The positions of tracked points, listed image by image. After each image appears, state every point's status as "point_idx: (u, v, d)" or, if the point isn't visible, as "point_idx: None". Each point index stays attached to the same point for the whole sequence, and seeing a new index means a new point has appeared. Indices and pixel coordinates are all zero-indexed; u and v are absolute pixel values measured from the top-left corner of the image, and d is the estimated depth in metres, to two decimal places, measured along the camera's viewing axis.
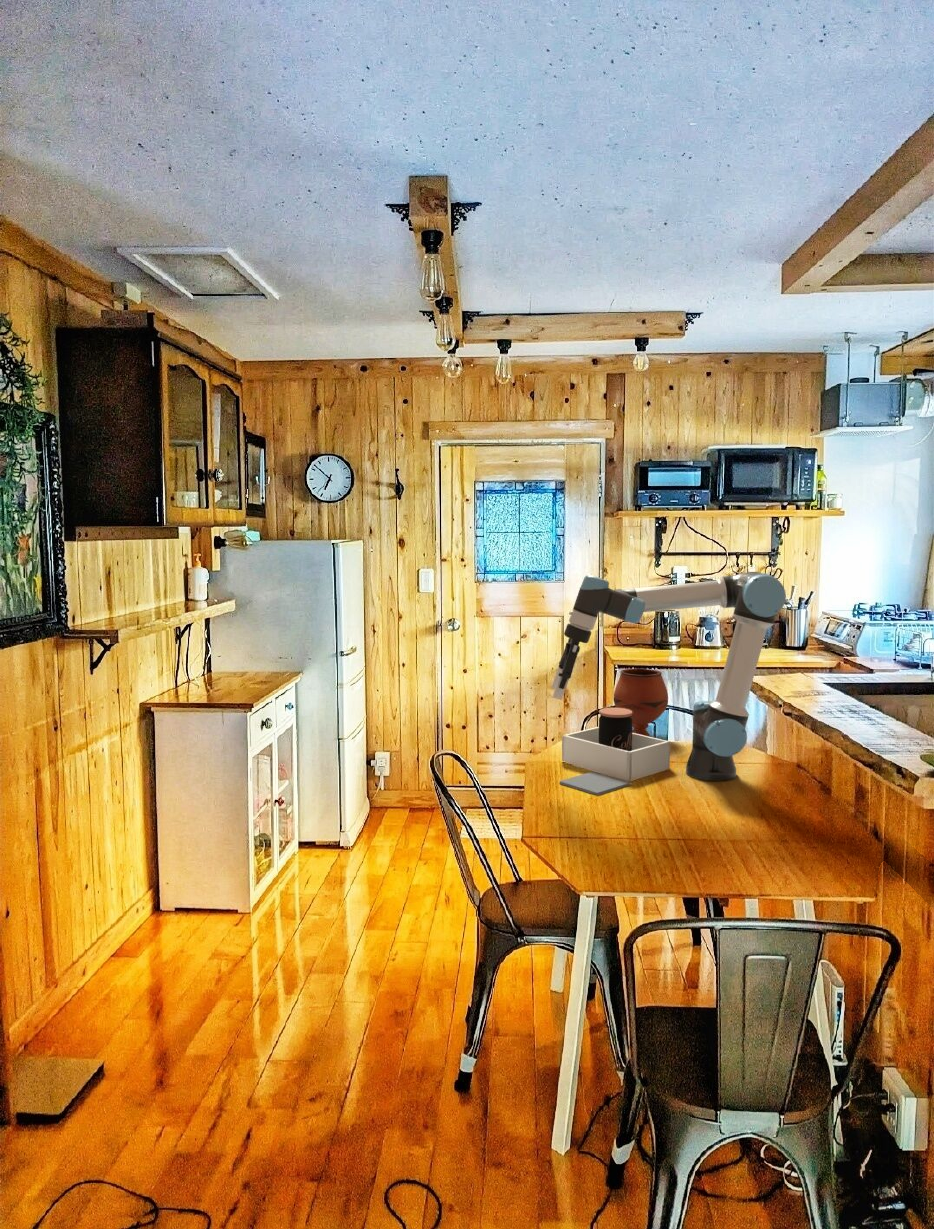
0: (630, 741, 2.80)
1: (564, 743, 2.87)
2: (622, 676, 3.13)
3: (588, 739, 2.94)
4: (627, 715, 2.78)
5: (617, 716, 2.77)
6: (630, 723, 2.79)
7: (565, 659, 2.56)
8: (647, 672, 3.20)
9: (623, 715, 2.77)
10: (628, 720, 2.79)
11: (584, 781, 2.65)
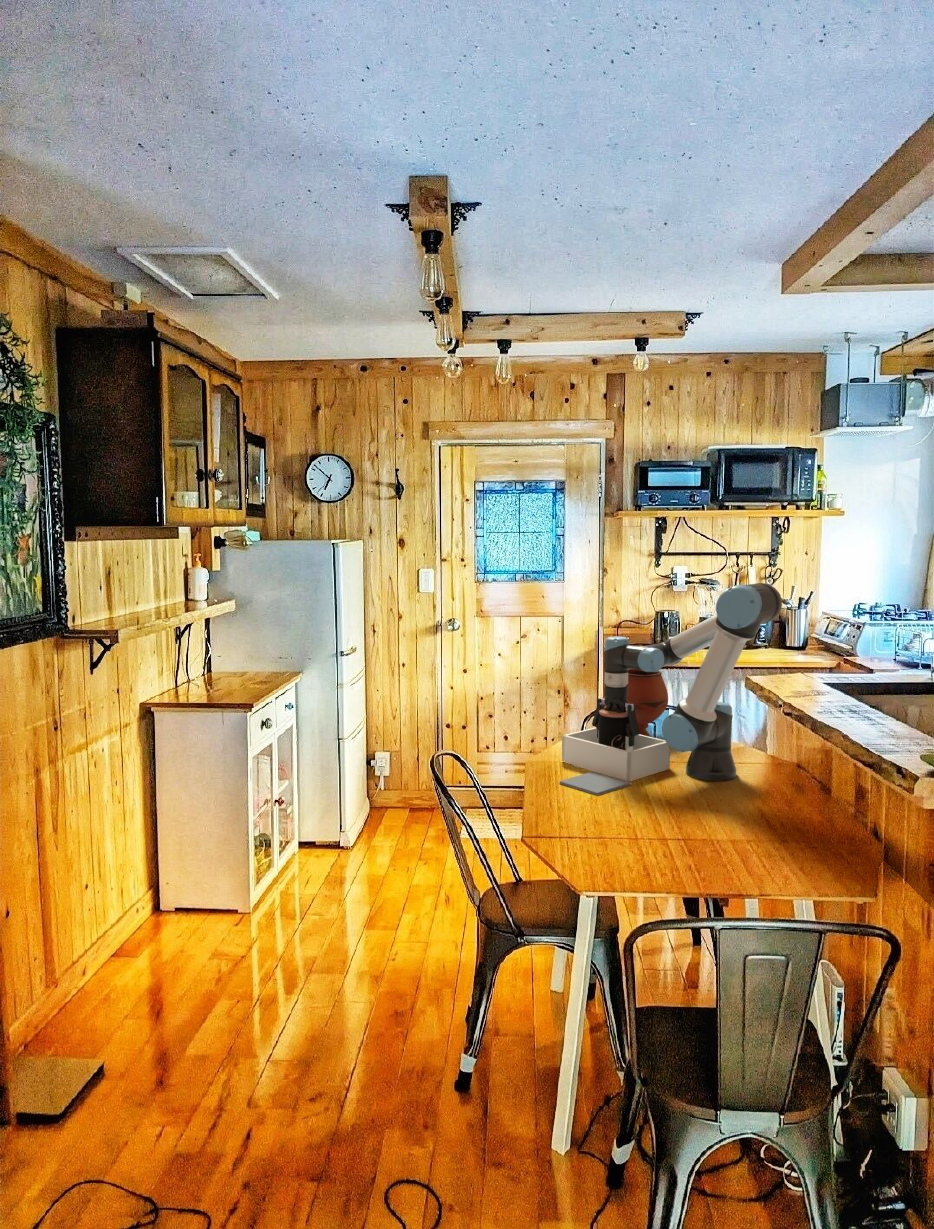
0: None
1: (564, 743, 2.87)
2: None
3: (588, 739, 2.94)
4: (627, 715, 2.78)
5: (617, 716, 2.77)
6: None
7: None
8: (647, 672, 3.20)
9: (623, 715, 2.77)
10: (628, 720, 2.79)
11: (584, 781, 2.65)
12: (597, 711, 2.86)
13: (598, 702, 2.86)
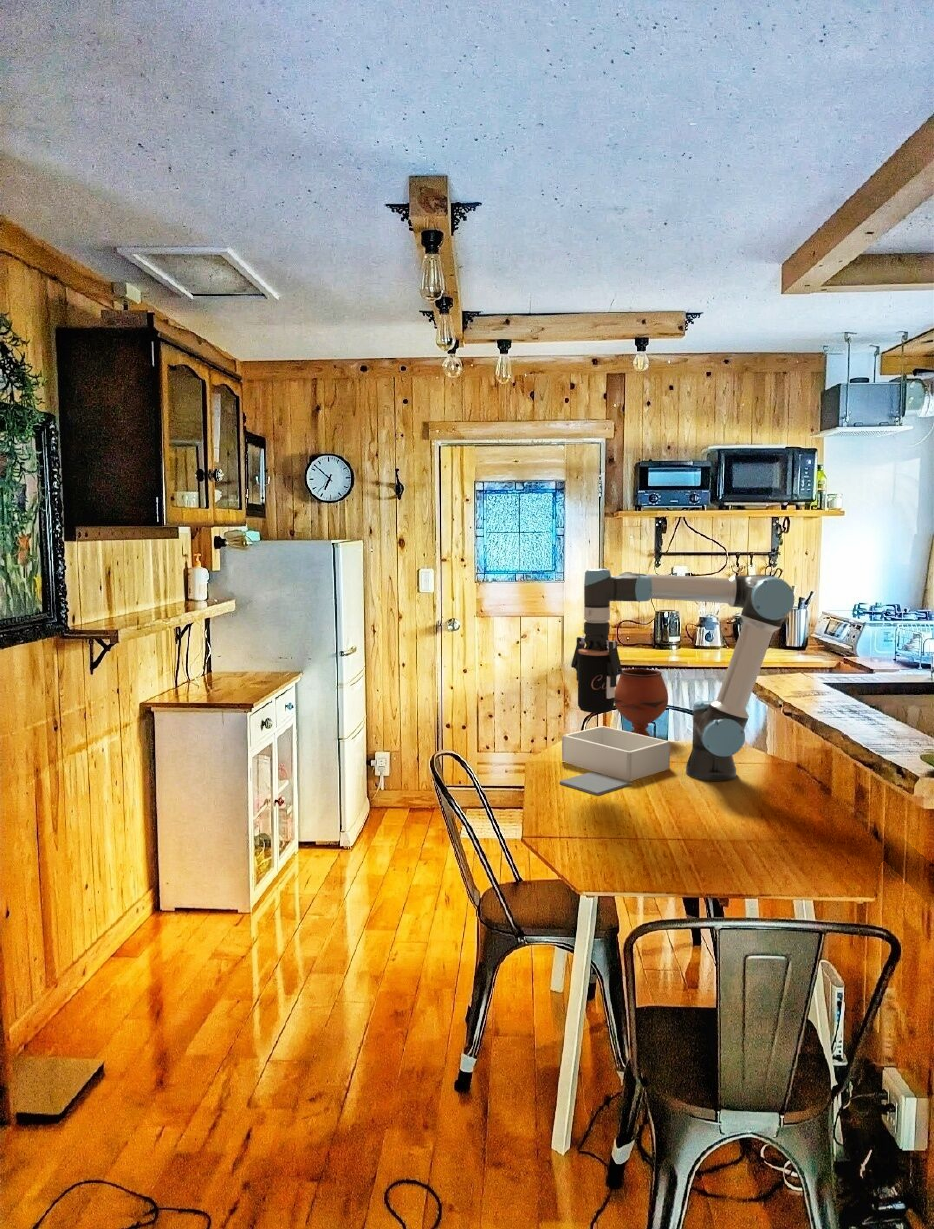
0: None
1: (564, 743, 2.87)
2: (622, 676, 3.13)
3: (588, 739, 2.94)
4: (608, 653, 2.56)
5: (597, 654, 2.55)
6: None
7: None
8: (647, 672, 3.20)
9: (604, 653, 2.55)
10: (609, 658, 2.56)
11: (584, 781, 2.65)
12: (576, 651, 2.64)
13: (578, 641, 2.63)
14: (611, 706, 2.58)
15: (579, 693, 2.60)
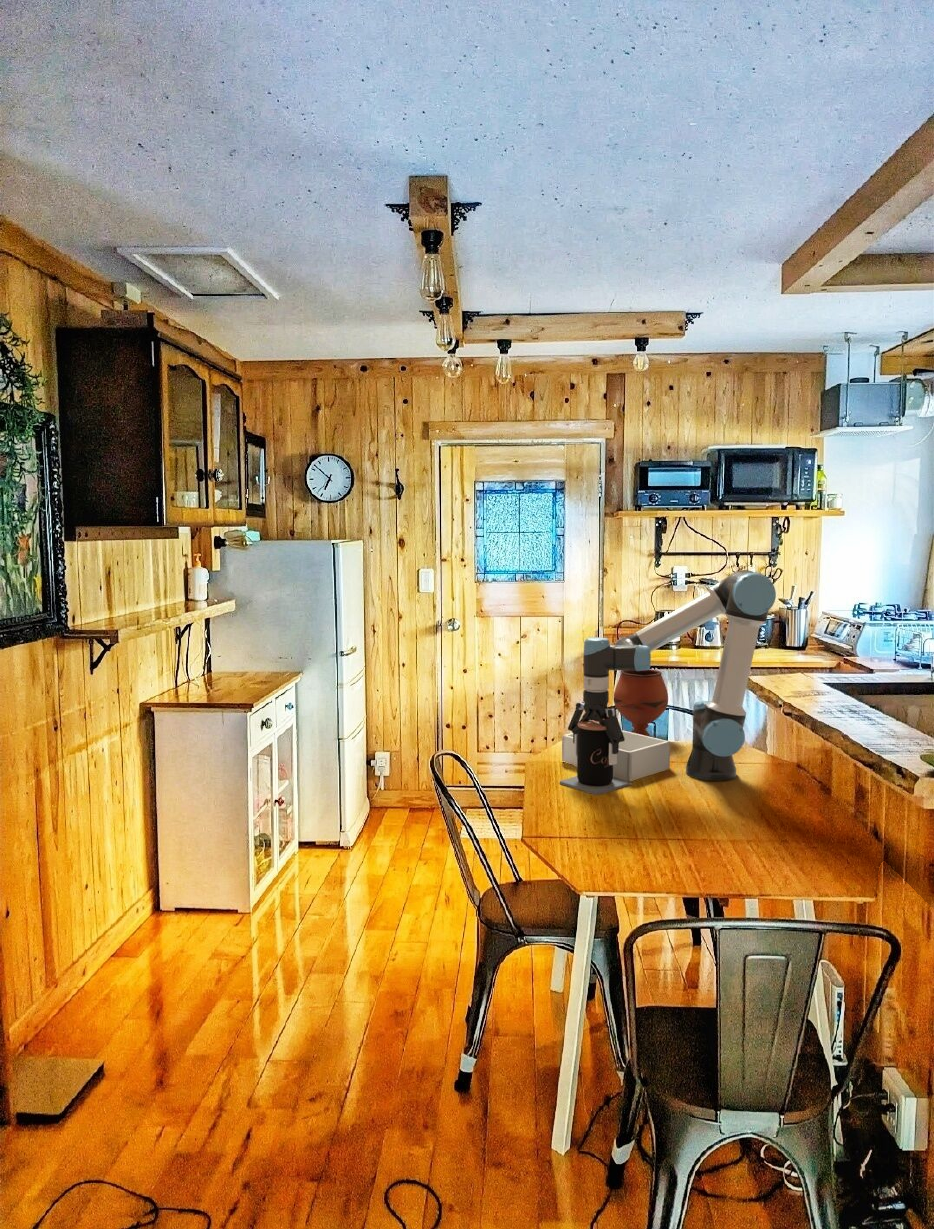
0: None
1: (564, 743, 2.87)
2: (622, 676, 3.13)
3: None
4: None
5: (597, 729, 2.57)
6: None
7: (603, 725, 2.59)
8: (647, 672, 3.20)
9: (603, 728, 2.57)
10: None
11: None
12: (575, 716, 2.67)
13: (577, 706, 2.66)
14: (610, 779, 2.61)
15: (578, 766, 2.62)
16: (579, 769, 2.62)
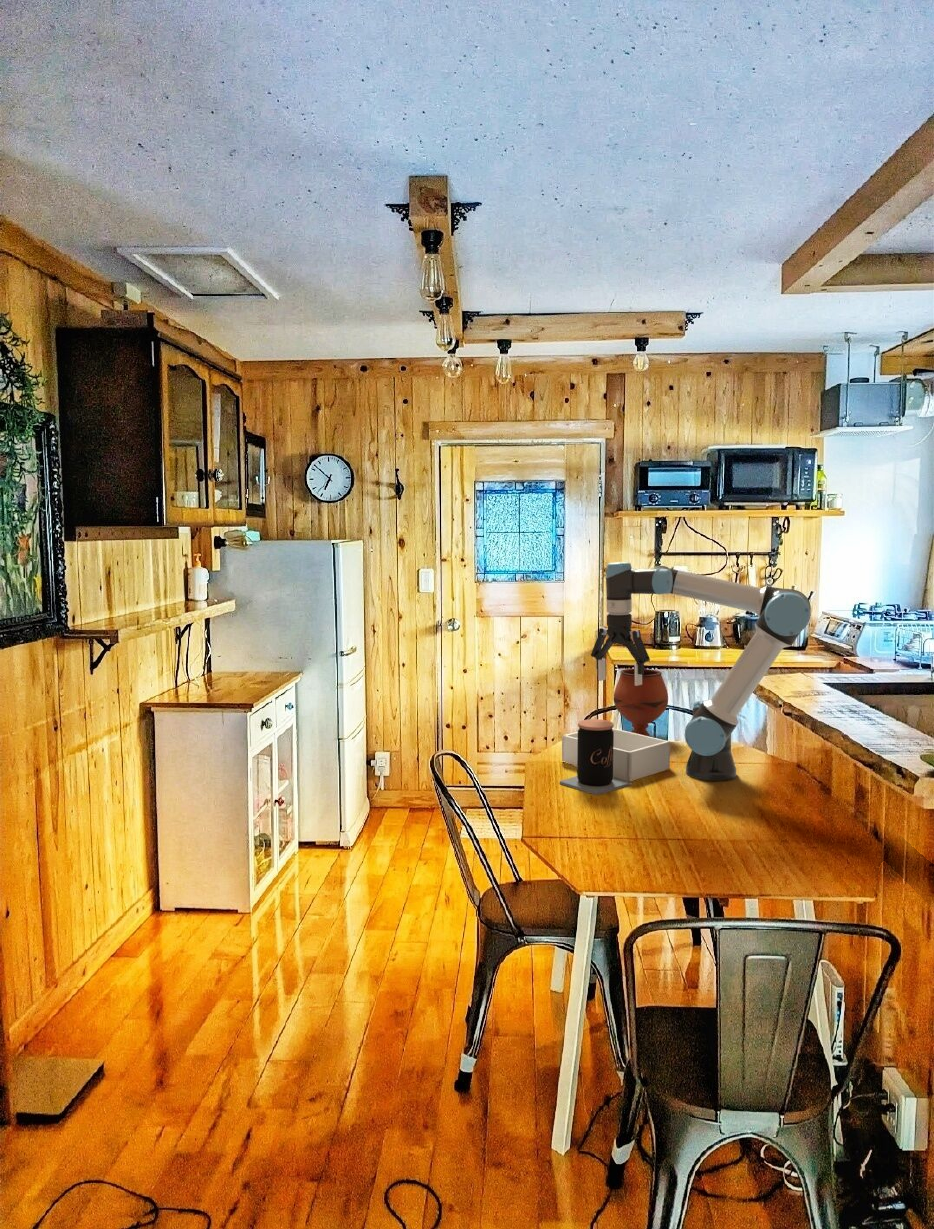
0: (611, 755, 2.60)
1: (564, 743, 2.87)
2: (622, 676, 3.13)
3: None
4: (608, 728, 2.58)
5: (597, 729, 2.57)
6: (611, 736, 2.60)
7: (627, 647, 2.63)
8: (647, 672, 3.20)
9: (603, 728, 2.57)
10: (608, 733, 2.59)
11: None
12: (598, 641, 2.71)
13: (600, 632, 2.70)
14: (610, 779, 2.61)
15: (578, 766, 2.62)
16: (579, 769, 2.62)
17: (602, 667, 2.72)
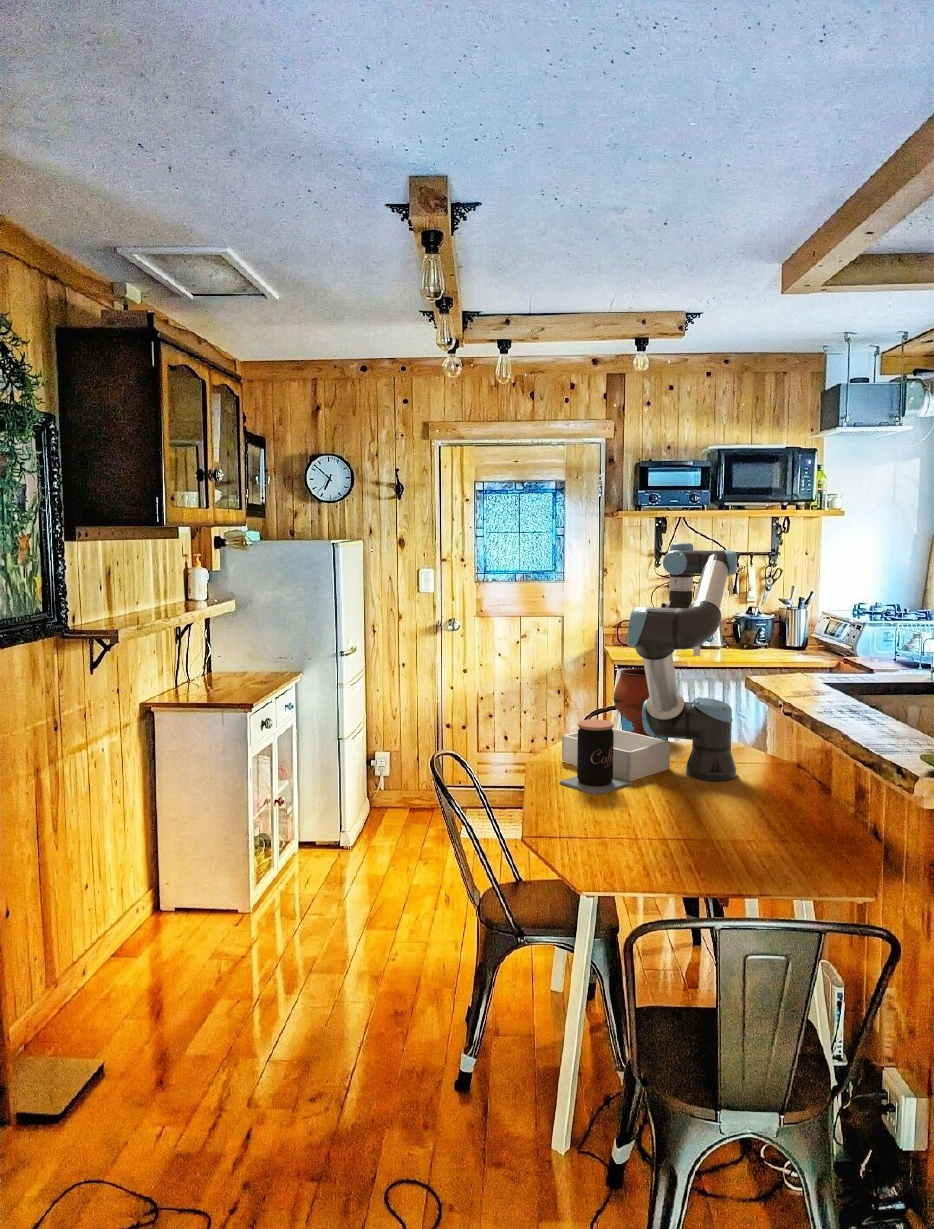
0: (611, 756, 2.60)
1: (564, 743, 2.87)
2: (622, 676, 3.13)
3: None
4: (608, 728, 2.58)
5: (597, 729, 2.57)
6: (611, 736, 2.60)
7: None
8: None
9: (603, 728, 2.57)
10: (608, 733, 2.59)
11: None
12: None
13: (662, 606, 2.94)
14: (610, 779, 2.61)
15: (578, 766, 2.62)
16: (579, 769, 2.62)
17: None
